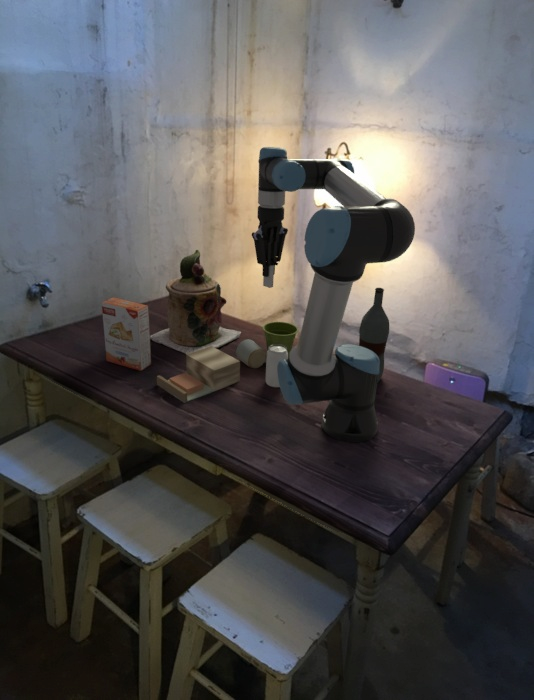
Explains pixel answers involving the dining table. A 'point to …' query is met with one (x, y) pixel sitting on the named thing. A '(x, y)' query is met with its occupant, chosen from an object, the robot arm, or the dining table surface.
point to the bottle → (375, 329)
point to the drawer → (179, 392)
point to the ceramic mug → (251, 353)
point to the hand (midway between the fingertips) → (268, 286)
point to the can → (274, 364)
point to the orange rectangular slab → (187, 383)
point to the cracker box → (127, 333)
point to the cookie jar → (194, 311)
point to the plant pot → (280, 334)
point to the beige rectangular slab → (213, 368)
